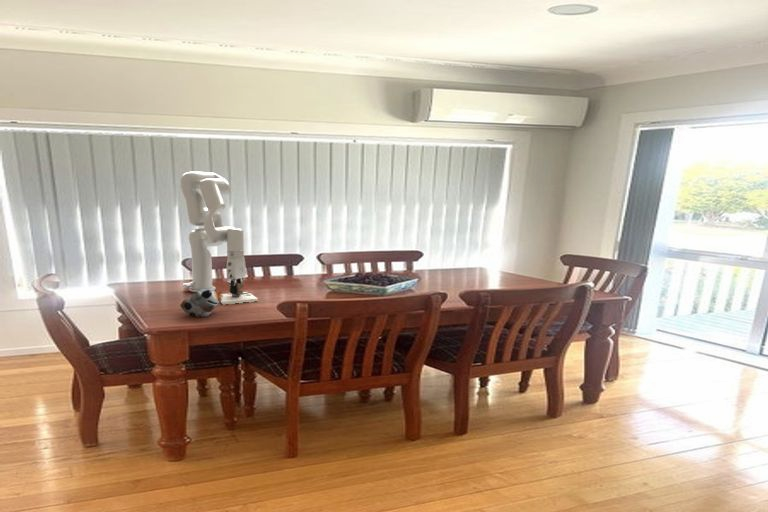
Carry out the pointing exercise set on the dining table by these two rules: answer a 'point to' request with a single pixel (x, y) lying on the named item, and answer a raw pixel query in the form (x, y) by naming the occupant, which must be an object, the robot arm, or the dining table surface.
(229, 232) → the robot arm
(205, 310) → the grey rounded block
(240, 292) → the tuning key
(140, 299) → the dining table surface
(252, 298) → the dial board
